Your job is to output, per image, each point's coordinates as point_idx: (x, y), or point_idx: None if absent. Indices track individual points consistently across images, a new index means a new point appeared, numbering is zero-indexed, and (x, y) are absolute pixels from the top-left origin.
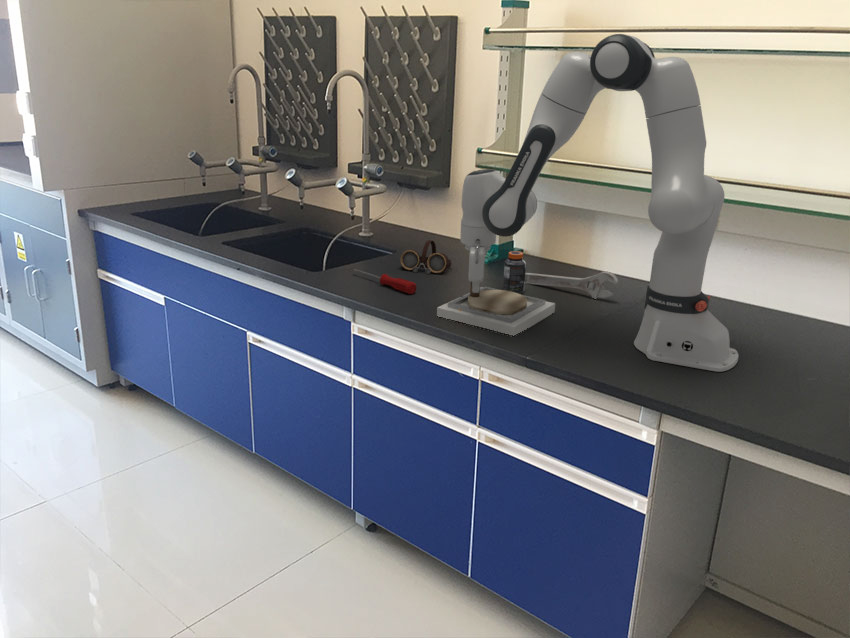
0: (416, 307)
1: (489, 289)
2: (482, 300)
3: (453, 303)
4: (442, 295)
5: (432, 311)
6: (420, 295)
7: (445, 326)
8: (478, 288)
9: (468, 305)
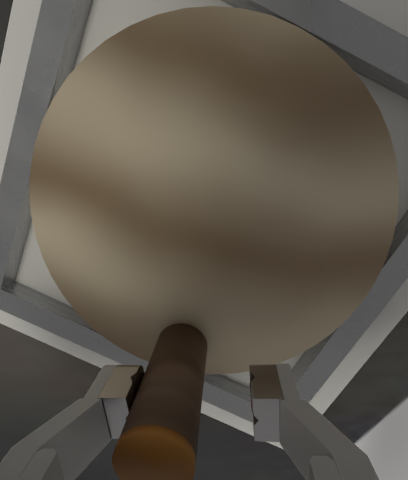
0: (199, 471)
1: (6, 272)
2: (255, 305)
3: None
4: (50, 410)
5: (227, 429)
6: None
7: (381, 385)
8: (296, 388)
9: None
